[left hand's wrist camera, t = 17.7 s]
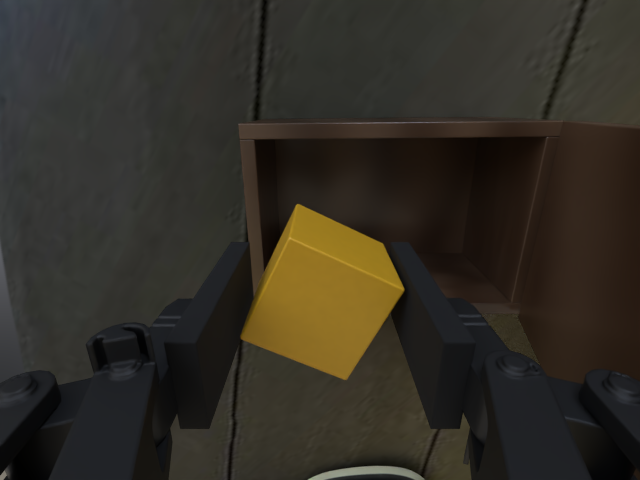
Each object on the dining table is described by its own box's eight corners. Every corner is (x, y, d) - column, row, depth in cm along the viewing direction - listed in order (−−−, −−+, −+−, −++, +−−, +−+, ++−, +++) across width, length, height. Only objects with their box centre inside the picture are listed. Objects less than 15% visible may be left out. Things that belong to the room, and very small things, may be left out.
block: (259, 282, 16) (238, 339, 12) (297, 202, 14) (288, 237, 10) (340, 317, 16) (346, 381, 12) (383, 243, 15) (406, 289, 11)
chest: (273, 259, 30) (254, 315, 22) (264, 118, 26) (237, 123, 18) (465, 257, 30) (521, 314, 22) (487, 116, 26) (566, 120, 18)
